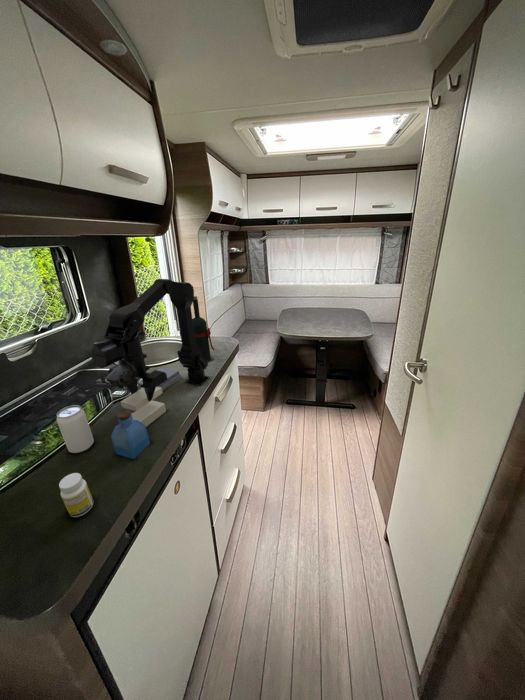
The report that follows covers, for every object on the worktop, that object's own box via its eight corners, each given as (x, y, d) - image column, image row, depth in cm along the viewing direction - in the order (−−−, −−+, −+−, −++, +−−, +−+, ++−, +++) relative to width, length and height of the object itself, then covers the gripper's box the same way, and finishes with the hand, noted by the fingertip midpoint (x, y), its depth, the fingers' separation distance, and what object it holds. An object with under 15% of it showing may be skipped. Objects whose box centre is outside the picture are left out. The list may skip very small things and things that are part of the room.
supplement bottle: (76, 499, 63) (65, 471, 60) (97, 497, 64) (87, 470, 60) (64, 519, 59) (51, 490, 56) (87, 517, 59) (75, 488, 56)
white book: (149, 389, 94) (147, 384, 93) (162, 392, 91) (161, 387, 90) (121, 407, 84) (120, 401, 84) (136, 411, 82) (134, 405, 81)
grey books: (164, 374, 119) (163, 366, 117) (181, 378, 115) (179, 370, 114) (138, 390, 107) (136, 382, 106) (156, 395, 104) (154, 386, 102)
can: (82, 455, 76) (69, 419, 71) (62, 452, 77) (48, 417, 73) (99, 439, 82) (88, 405, 77) (80, 436, 83) (68, 403, 78)
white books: (152, 407, 96) (151, 399, 95) (166, 411, 94) (164, 403, 93) (126, 426, 87) (124, 418, 86) (141, 430, 85) (139, 423, 84)
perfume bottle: (150, 443, 80) (141, 408, 75) (134, 459, 74) (124, 422, 70) (132, 439, 82) (123, 404, 77) (116, 454, 76) (105, 418, 71)
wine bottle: (213, 363, 128) (206, 298, 116) (191, 362, 128) (182, 298, 117) (217, 356, 135) (211, 294, 123) (197, 355, 136) (188, 294, 124)
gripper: (85, 359, 78) (99, 405, 85) (133, 370, 71) (145, 420, 77) (118, 345, 88) (129, 388, 94) (164, 354, 80) (172, 399, 87)
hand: (142, 398), depth 88 cm, fingers closed on white book, 6 cm apart
